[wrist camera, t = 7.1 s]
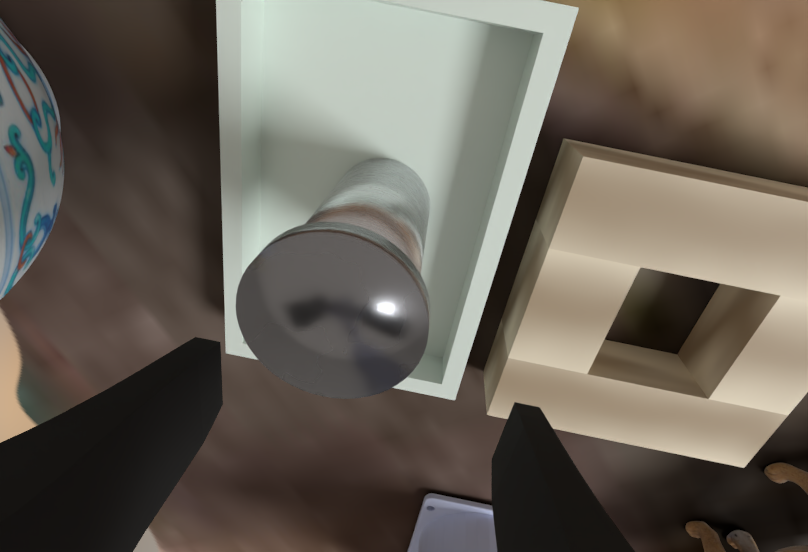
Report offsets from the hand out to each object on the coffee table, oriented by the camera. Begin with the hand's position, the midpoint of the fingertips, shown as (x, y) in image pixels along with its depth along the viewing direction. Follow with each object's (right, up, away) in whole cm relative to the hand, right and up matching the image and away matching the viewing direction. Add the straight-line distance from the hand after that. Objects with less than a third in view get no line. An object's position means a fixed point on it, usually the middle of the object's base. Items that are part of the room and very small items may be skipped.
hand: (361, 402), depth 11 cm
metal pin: (0, +6, +8) cm, 10 cm away
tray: (0, +6, +8) cm, 11 cm away
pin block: (+12, +2, +9) cm, 15 cm away
